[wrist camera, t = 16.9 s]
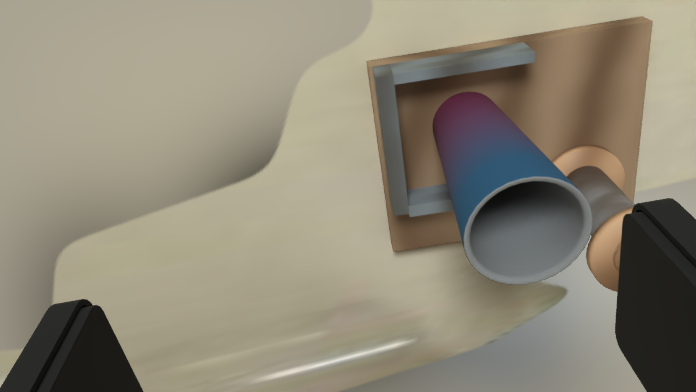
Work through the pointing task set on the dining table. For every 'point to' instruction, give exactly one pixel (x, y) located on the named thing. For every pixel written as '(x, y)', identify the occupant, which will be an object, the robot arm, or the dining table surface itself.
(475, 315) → the dining table surface
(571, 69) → the board
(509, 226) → the cup
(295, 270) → the dining table surface
